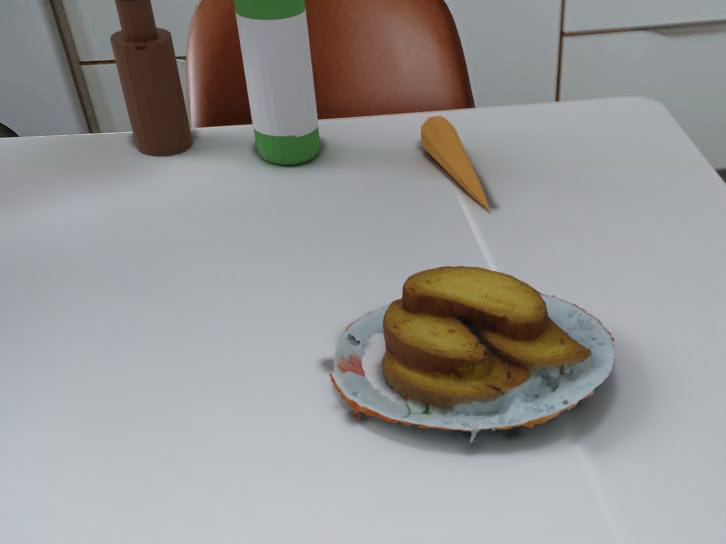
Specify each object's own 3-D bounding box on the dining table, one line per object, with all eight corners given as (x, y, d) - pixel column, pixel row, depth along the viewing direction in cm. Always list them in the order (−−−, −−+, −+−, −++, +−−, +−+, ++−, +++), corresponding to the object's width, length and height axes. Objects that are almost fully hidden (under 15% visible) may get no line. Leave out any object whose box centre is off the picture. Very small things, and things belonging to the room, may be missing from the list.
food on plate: (337, 472, 77) (328, 401, 72) (325, 313, 93) (317, 247, 88) (646, 445, 79) (658, 375, 74) (581, 295, 96) (587, 231, 91)
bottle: (136, 158, 117) (99, 6, 105) (137, 136, 122) (101, -12, 110) (193, 153, 118) (162, 2, 106) (192, 132, 123) (162, -15, 111)
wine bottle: (256, 144, 120) (208, -165, 98) (319, 140, 121) (285, -167, 99) (258, 169, 115) (208, -151, 93) (323, 165, 116) (289, -153, 94)
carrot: (423, 154, 120) (409, 121, 117) (454, 135, 120) (442, 102, 116) (480, 238, 110) (467, 205, 106) (514, 218, 109) (503, 185, 105)
